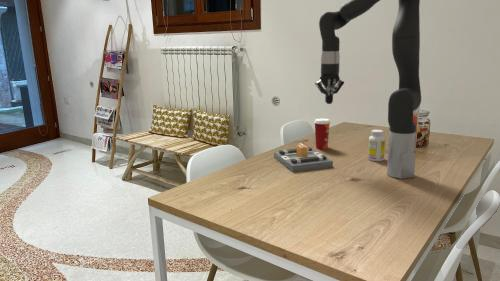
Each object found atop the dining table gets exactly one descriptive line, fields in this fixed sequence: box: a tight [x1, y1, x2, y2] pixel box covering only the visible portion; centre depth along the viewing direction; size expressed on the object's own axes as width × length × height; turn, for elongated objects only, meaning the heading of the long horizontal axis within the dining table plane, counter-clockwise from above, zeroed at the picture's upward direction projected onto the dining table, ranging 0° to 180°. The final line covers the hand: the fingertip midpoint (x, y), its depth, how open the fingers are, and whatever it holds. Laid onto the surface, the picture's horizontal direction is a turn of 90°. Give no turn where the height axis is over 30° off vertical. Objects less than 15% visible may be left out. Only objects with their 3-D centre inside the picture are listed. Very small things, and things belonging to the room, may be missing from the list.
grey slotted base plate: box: [279, 146, 327, 164], centre depth 168 cm, size 17×15×4 cm
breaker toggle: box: [296, 142, 309, 157], centre depth 168 cm, size 5×3×5 cm, turn 16°
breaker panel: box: [273, 148, 334, 173], centre depth 168 cm, size 22×18×3 cm
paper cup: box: [313, 117, 331, 150], centre depth 188 cm, size 8×8×14 cm
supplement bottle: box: [367, 129, 386, 162], centre depth 167 cm, size 7×7×13 cm
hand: (329, 103), depth 165 cm, fingers closed
